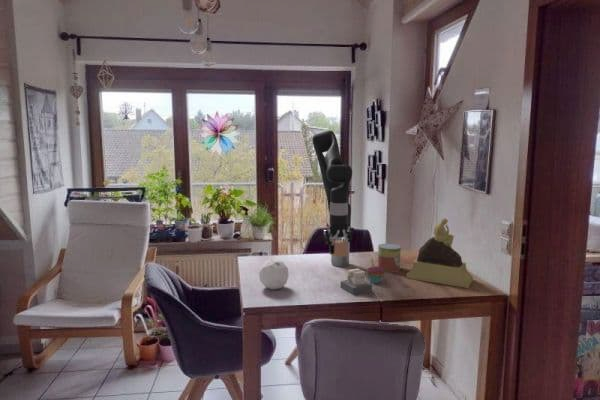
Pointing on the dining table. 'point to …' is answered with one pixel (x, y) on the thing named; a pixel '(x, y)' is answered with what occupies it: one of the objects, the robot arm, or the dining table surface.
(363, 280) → the cream cube
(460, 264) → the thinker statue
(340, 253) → the terracotta cube
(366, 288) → the plinth
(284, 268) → the geodesic sphere
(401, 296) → the dining table surface
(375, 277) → the cupcake
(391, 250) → the canned food
